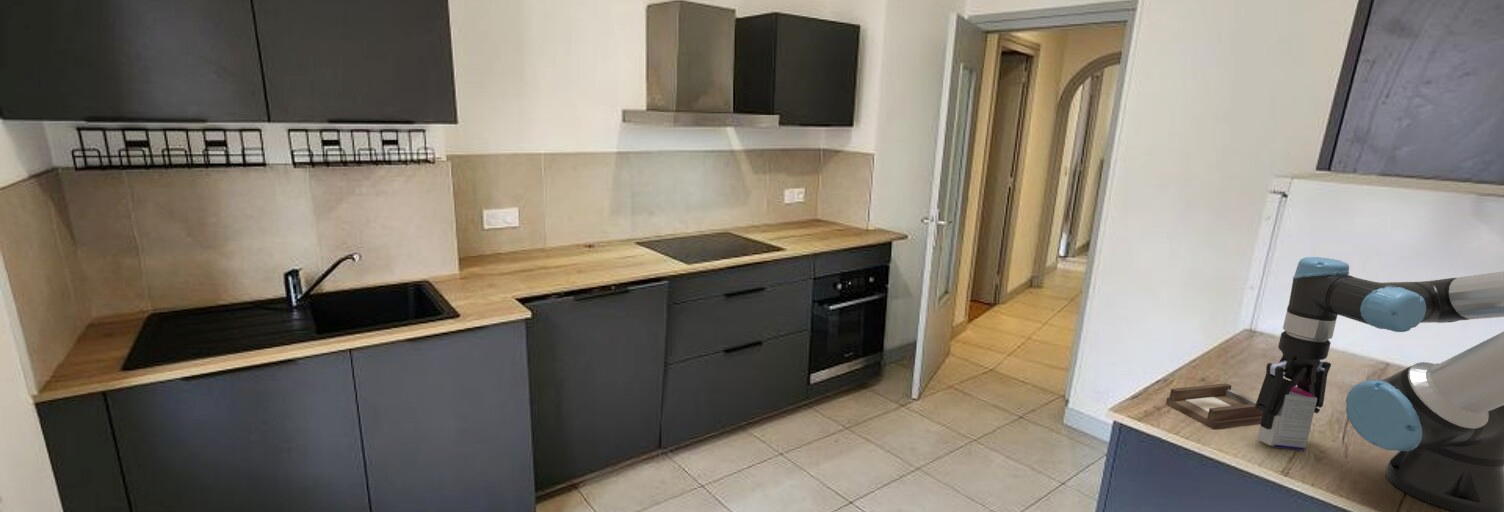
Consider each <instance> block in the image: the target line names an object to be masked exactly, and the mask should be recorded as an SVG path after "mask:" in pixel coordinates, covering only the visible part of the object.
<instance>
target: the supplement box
mask: <svg viewBox="0 0 1504 512" xmlns="http://www.w3.org/2000/svg"><path fill="white" fill-rule="evenodd" d="M1316 402H1317V398H1316V397H1314V396H1313V395H1311V394H1310V393H1308V392H1307V391H1305V390H1303V389H1300V388H1298V387H1297V385H1296V386H1294V387H1292V389H1291V391H1290V392H1289V394H1288V395H1285V398H1284V403H1283V405H1282V407H1281V409H1280V411H1279V412H1278V414H1277V415H1280V416H1281V417H1280V421H1279V426H1278V430H1277V434H1276V438H1275V443H1274V445H1273V446H1272V447H1273V448H1277V449H1278V448H1280V449H1289V450H1300V451H1305V450H1306V447H1307V443H1308V440H1309V435H1310V430H1311V427H1312V423H1313V418H1314V415H1315V412H1314V411H1315V407H1316ZM1316 408H1317V407H1316ZM1260 427H1261V425H1260V426H1259V428H1260ZM1259 432H1260V430H1259V431H1258V433H1259Z"/></svg>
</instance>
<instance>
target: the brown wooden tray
mask: <svg viewBox="0 0 1504 512" xmlns="http://www.w3.org/2000/svg"><path fill="white" fill-rule="evenodd" d="M1256 402H1257V400H1254V399H1252V398H1251V397H1248V396H1246V395H1243V394H1241V393H1239V392H1237V391H1235V390H1233V389H1232V385H1231V384H1229V383H1218V384H1217V383H1215V384H1207V385H1196V386H1188V387H1187V386H1186V387H1177V388H1175V387H1174V388H1170V394H1169V397H1167V398H1166V400H1165V404H1166V405H1167V406H1169V407H1171V408H1173V409H1174V410H1177V411H1179V412H1180V413H1182V414H1184V415H1186V416H1187V417H1190V418H1192V419H1194V420H1195V421H1197V422H1199V423H1200V424H1202V425H1205V426H1206V427H1209V428H1210V429H1211V430H1219V429H1227V428H1237V427H1244V426H1245V427H1246V426H1251V425H1252V426H1253V425H1261V420H1262V416H1263V411H1261V410H1259V409H1257V408H1255V405H1256Z"/></svg>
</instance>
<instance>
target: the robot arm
mask: <svg viewBox="0 0 1504 512" xmlns="http://www.w3.org/2000/svg"><path fill="white" fill-rule="evenodd" d="M1285 313H1286V314H1285V318H1284V322H1283V326H1282V329H1283V331H1282V332H1281V333H1280V338H1279V342H1278V349H1279V351H1281V352H1282V356H1281V358H1280V360H1279V362H1277V363H1275V364H1274V363H1272V362H1268V363H1267V364H1266V369H1265V370H1266V371H1265V376H1264V379H1263V382H1262V385H1261V389H1260V390H1259V394H1258V396H1257V398H1256V399H1257V400H1256V401H1257V402H1256V405H1255V408H1257V409H1259V410H1261V411H1263V416H1262V420H1261V424H1260V426H1261V427H1260V426H1259V431H1260V432H1259V431H1258V435H1257V436H1258V438H1257V440H1259V441H1260V442H1263V443H1264V444H1267V445H1269V446H1272V447H1273V445H1274V443H1275V438H1276V434H1277V430H1278V426H1279V421H1280V417H1281V416H1280V415H1277V414H1278V412H1279V411H1280V409H1281V407H1282V405H1283V403H1284V398H1285V395H1288V394H1289V392H1290V391H1291V389H1292V387H1294V386H1296V387H1298V388H1300V389H1303V390H1305V391H1307V392H1308V393H1310V394H1311V395H1313V396H1314V397H1316V398H1317V402H1316V407H1315V411H1314V414H1318V413H1320V410H1321V409H1320V408H1322V407H1323V406H1324V401H1325V395H1326V389H1327V380H1328V374H1329V371H1330V369H1331V366H1332V363H1330V362H1329V361H1325V359H1327V358H1328V354H1329V351H1330V346H1331V345H1332V344H1331V341H1330V339H1333V336H1334V332H1335V327H1336V322H1337V318H1338V316H1341V317H1343V318H1347V319H1350V320H1353V321H1356V322H1360V323H1362V324H1363V323H1364V324H1366V325H1370V326H1371V327H1374V328H1376V329H1380V330H1387V331H1392V332H1395V333H1403V332H1404V333H1405V332H1409V331H1410V330H1411V329H1413V328H1416V327H1418V325H1420V324H1424V323H1425V324H1427V323H1432V324H1433V323H1437V324H1443V323H1444V324H1445V323H1454V322H1458V321H1469V320H1479V319H1480V320H1481V319H1492V318H1504V270H1503V271H1497V272H1490V273H1482V274H1474V275H1466V276H1460V277H1459V276H1457V277H1450V278H1443V279H1433V280H1424V281H1397V282H1395V281H1393V282H1392V281H1391V282H1389V281H1388V282H1380V281H1379V282H1378V281H1372V280H1369V279H1368V280H1367V279H1364V278H1363V279H1362V278H1358V277H1355V276H1353V275H1350V265H1349V263H1347V262H1345V261H1342V260H1338V259H1335V258H1329V257H1321V256H1320V257H1319V256H1306V257H1303V258H1301V259H1299V261H1298V263H1297V266H1296V269H1295V273H1294V276H1292V284H1291V290H1290V296H1289V302H1288V305H1287V309H1286V312H1285ZM1345 402H1346V407H1345V412H1346V416H1347V418H1348V420H1349V423H1350V424H1351V426H1352V427H1353V429H1354V430H1355V432H1356V433H1357V434H1359V436H1360V437H1361V438H1363V440H1365V441H1366V442H1368V443H1369V444H1371V445H1373V446H1376V447H1377V448H1380V449H1383V450H1387V451H1397V452H1396V453H1395V454H1394V455H1393V456H1392V457H1391V458H1390V460H1389V461H1388V463H1387V465H1386V469H1385V471H1384V472H1385V473H1384V475H1385V477H1386V479H1387V481H1389V482H1390V483H1391V484H1392V485H1394V487H1396V488H1398V489H1399V490H1400V491H1402V492H1403V493H1406V494H1408V495H1409V496H1412V497H1414V498H1416V499H1419V500H1421V501H1423V502H1426V503H1428V504H1430V505H1433V506H1436V507H1438V508H1441V509H1444V510H1448V511H1451V512H1504V331H1502V332H1500V333H1497V334H1496V335H1494V336H1492V337H1490V338H1487V339H1486V340H1483V341H1481V342H1480V343H1478V344H1476V345H1473V346H1471V347H1469V348H1468V349H1465V350H1464V351H1462V352H1459V353H1458V354H1456V355H1454V356H1452V357H1450V358H1448V359H1446V360H1444V361H1442V362H1440V363H1434V362H1433V363H1432V362H1428V361H1427V362H1426V361H1420V362H1416V363H1414V364H1413V365H1410V366H1409V367H1408V366H1407V368H1404V369H1403V370H1400V371H1399V372H1397V373H1394V374H1393V375H1391V376H1388V377H1386V378H1383V379H1368V380H1364V381H1362V382H1359V383H1357V384H1355V385H1354V386H1352V388H1351V389H1350V390H1349V391H1348V393H1347V396H1346V398H1345Z"/></svg>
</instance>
